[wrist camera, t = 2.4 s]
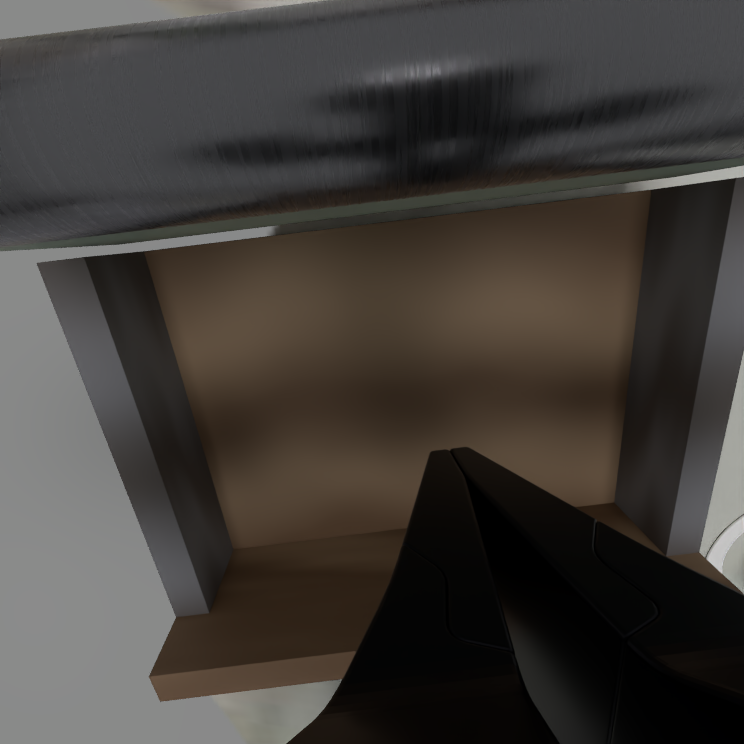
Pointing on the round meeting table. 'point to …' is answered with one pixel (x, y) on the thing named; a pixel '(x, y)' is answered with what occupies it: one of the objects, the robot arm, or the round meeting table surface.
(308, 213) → the panel
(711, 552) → the teacup and saucer
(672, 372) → the brown and grey drawer
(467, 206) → the round meeting table surface
